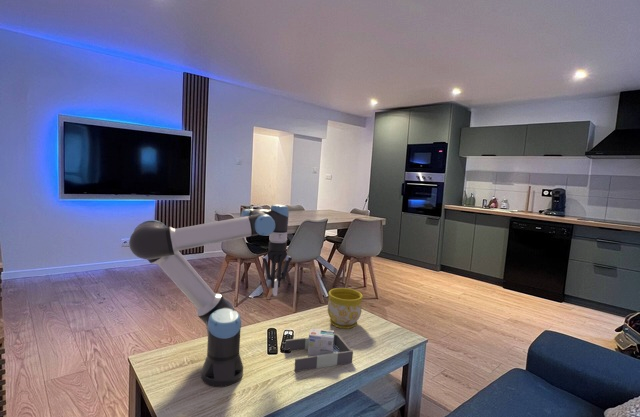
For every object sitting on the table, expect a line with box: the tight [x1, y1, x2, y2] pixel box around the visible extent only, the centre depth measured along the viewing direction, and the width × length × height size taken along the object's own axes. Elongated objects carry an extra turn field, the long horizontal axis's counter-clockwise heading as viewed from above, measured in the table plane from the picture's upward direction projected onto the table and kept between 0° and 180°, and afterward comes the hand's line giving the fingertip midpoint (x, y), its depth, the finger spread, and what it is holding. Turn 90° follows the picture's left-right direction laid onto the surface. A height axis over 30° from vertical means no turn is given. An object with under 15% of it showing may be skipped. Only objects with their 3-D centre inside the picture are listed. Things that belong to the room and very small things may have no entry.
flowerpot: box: [327, 287, 364, 330], centre depth 174 cm, size 18×18×16 cm
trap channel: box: [284, 333, 354, 372], centre depth 142 cm, size 25×16×5 cm, turn 111°
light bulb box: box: [307, 327, 335, 357], centre depth 142 cm, size 11×7×11 cm, turn 85°
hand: (274, 294), depth 143 cm, fingers closed
